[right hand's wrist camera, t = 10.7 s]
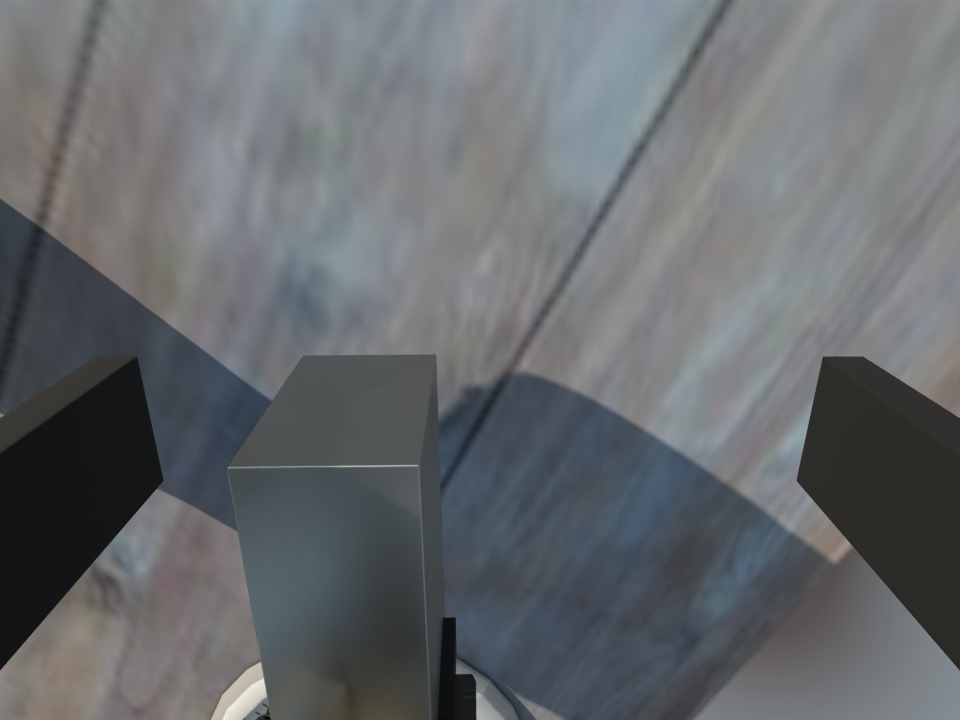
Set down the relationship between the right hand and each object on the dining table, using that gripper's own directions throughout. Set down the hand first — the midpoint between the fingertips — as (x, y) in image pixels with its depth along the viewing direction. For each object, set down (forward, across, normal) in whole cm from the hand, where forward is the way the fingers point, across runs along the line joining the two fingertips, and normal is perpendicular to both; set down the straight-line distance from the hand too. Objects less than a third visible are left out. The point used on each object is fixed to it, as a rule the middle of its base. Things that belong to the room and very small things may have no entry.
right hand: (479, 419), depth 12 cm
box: (+19, -6, -16) cm, 25 cm away
